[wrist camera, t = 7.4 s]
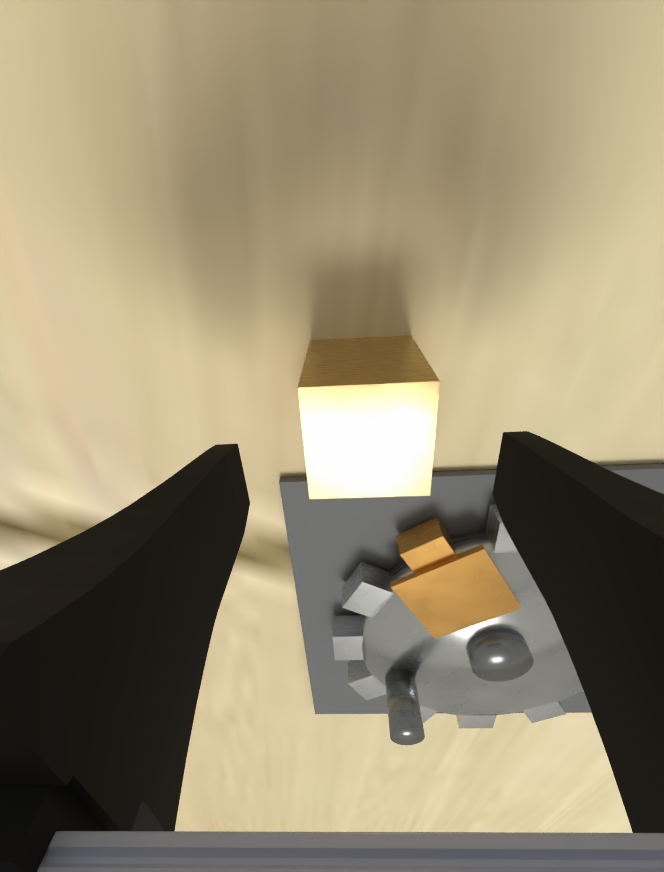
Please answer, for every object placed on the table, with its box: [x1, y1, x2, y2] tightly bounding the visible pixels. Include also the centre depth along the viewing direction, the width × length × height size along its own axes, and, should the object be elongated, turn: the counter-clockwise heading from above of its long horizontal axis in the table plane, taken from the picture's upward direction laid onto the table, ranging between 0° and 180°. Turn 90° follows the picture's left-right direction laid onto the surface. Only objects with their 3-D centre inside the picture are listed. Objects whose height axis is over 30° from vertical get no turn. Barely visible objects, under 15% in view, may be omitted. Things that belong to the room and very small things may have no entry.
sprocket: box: [333, 504, 584, 745], centre depth 20 cm, size 18×18×4 cm
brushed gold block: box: [298, 336, 440, 499], centre depth 14 cm, size 4×4×5 cm
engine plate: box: [279, 464, 664, 714], centre depth 23 cm, size 22×21×1 cm
